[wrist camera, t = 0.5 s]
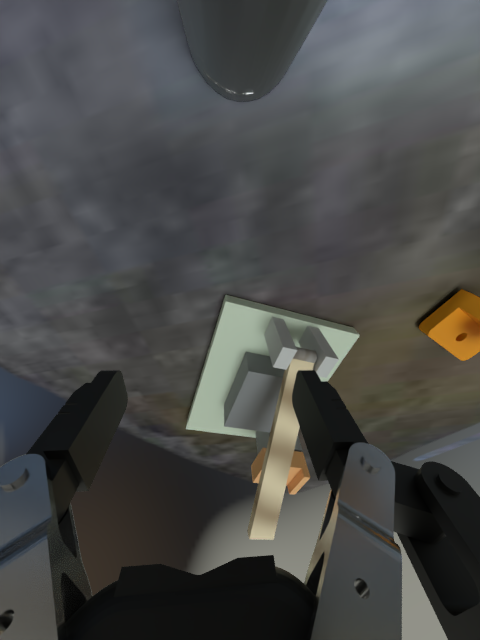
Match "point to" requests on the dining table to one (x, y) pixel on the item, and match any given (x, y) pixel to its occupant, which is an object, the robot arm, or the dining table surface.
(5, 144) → the dining table surface
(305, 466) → the block
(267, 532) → the strap
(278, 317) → the board
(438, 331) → the bracket
